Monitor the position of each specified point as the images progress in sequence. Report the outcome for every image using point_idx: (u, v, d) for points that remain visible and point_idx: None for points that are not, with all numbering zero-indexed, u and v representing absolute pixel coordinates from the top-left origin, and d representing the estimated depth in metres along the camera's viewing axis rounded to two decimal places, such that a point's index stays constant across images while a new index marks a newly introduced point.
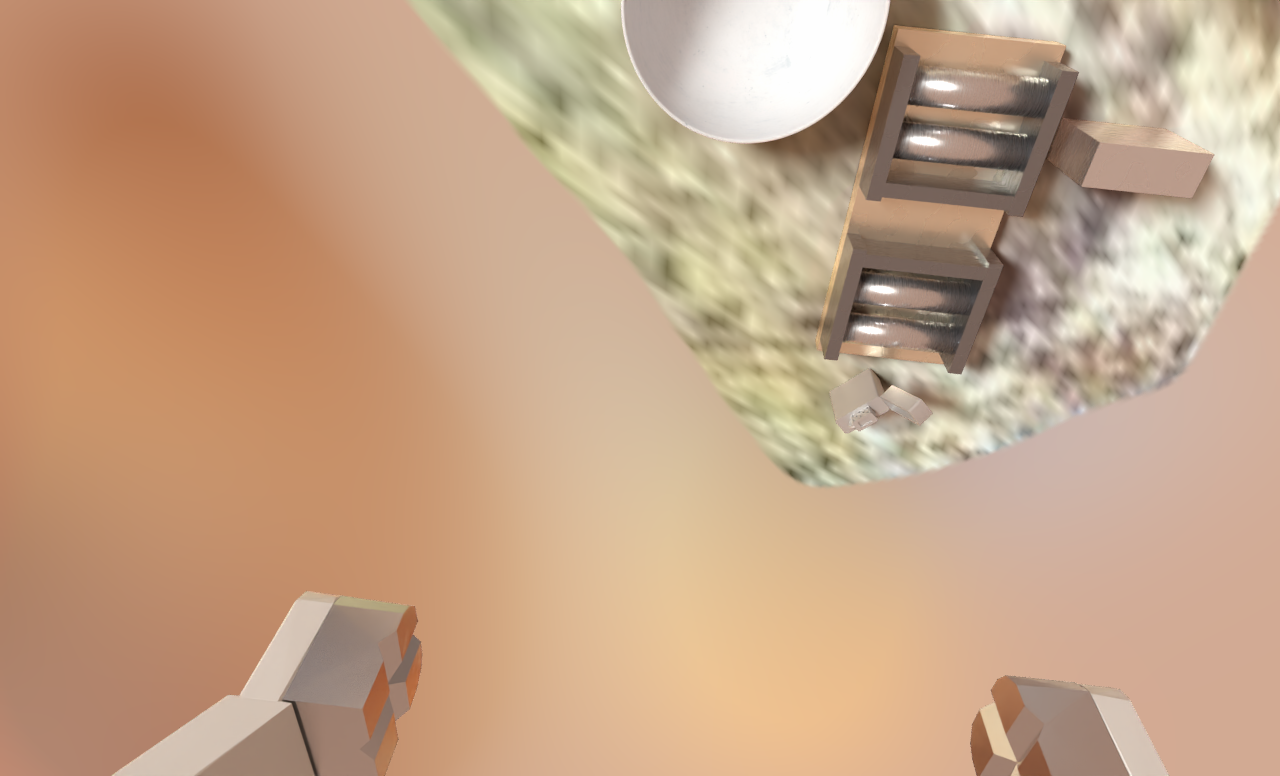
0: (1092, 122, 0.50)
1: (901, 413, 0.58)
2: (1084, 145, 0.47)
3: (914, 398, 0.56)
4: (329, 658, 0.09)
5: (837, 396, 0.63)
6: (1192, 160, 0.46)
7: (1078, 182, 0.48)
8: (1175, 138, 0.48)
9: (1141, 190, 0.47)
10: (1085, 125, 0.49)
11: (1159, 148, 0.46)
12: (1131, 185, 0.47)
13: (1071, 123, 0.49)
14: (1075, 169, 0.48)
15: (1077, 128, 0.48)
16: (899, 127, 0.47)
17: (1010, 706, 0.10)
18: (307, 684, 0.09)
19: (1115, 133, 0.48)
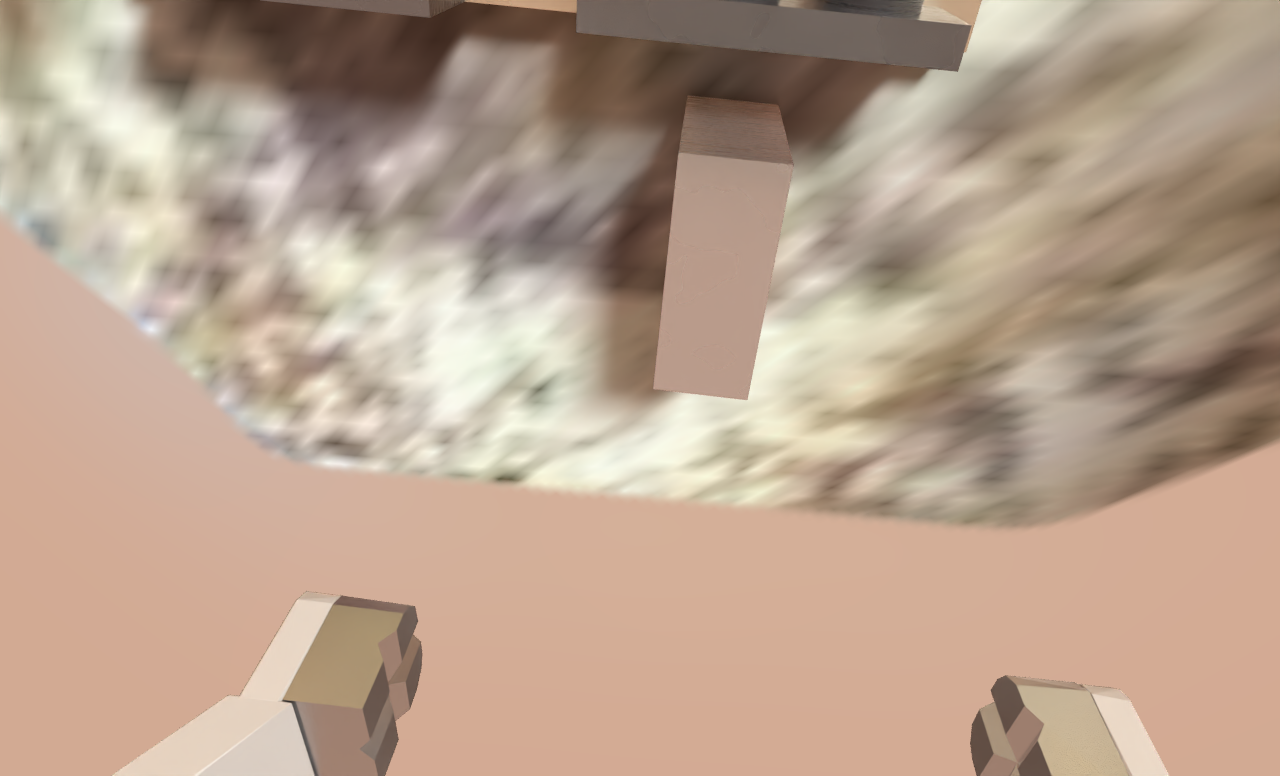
0: None
1: None
2: (763, 142, 0.19)
3: None
4: (329, 658, 0.09)
5: None
6: (736, 367, 0.21)
7: (683, 147, 0.18)
8: None
9: (669, 291, 0.20)
10: None
11: (765, 299, 0.20)
12: (681, 267, 0.20)
13: None
14: (705, 137, 0.19)
15: (782, 127, 0.21)
16: None
17: (1010, 706, 0.10)
18: (307, 684, 0.09)
19: None
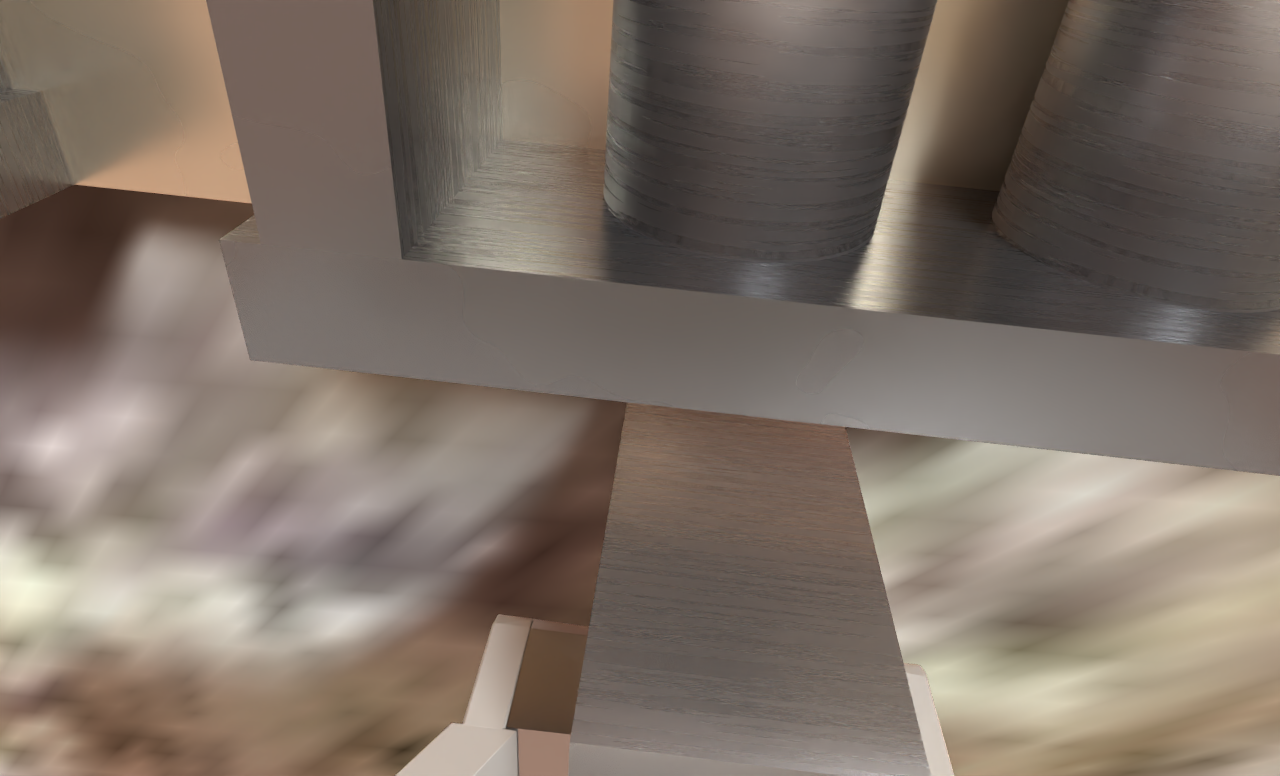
0: None
1: None
2: (821, 604, 0.07)
3: None
4: (541, 684, 0.09)
5: None
6: None
7: (591, 683, 0.06)
8: None
9: None
10: None
11: None
12: None
13: None
14: (663, 594, 0.07)
15: (856, 488, 0.08)
16: None
17: None
18: (526, 711, 0.09)
19: None
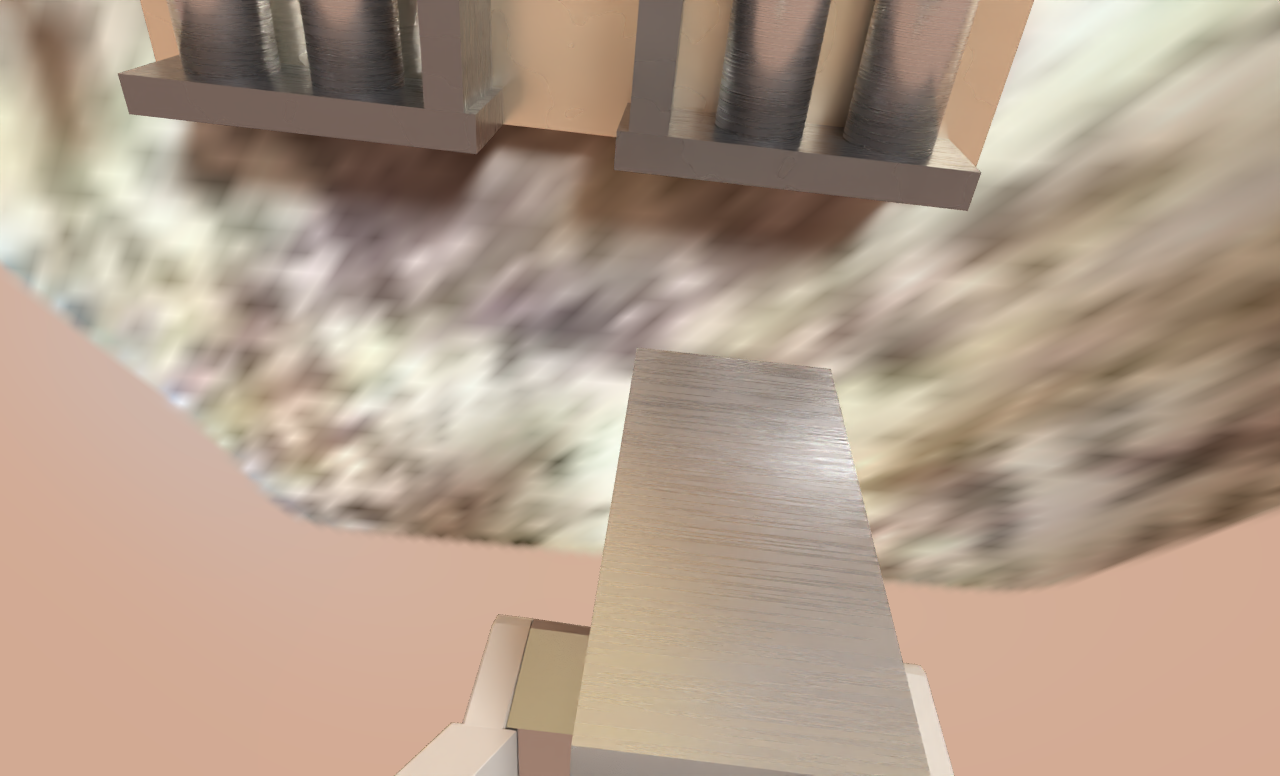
0: None
1: None
2: (822, 607, 0.07)
3: None
4: (541, 684, 0.09)
5: None
6: None
7: (592, 686, 0.06)
8: None
9: None
10: None
11: None
12: None
13: (842, 433, 0.09)
14: (664, 598, 0.07)
15: (856, 491, 0.08)
16: None
17: None
18: (526, 711, 0.09)
19: None
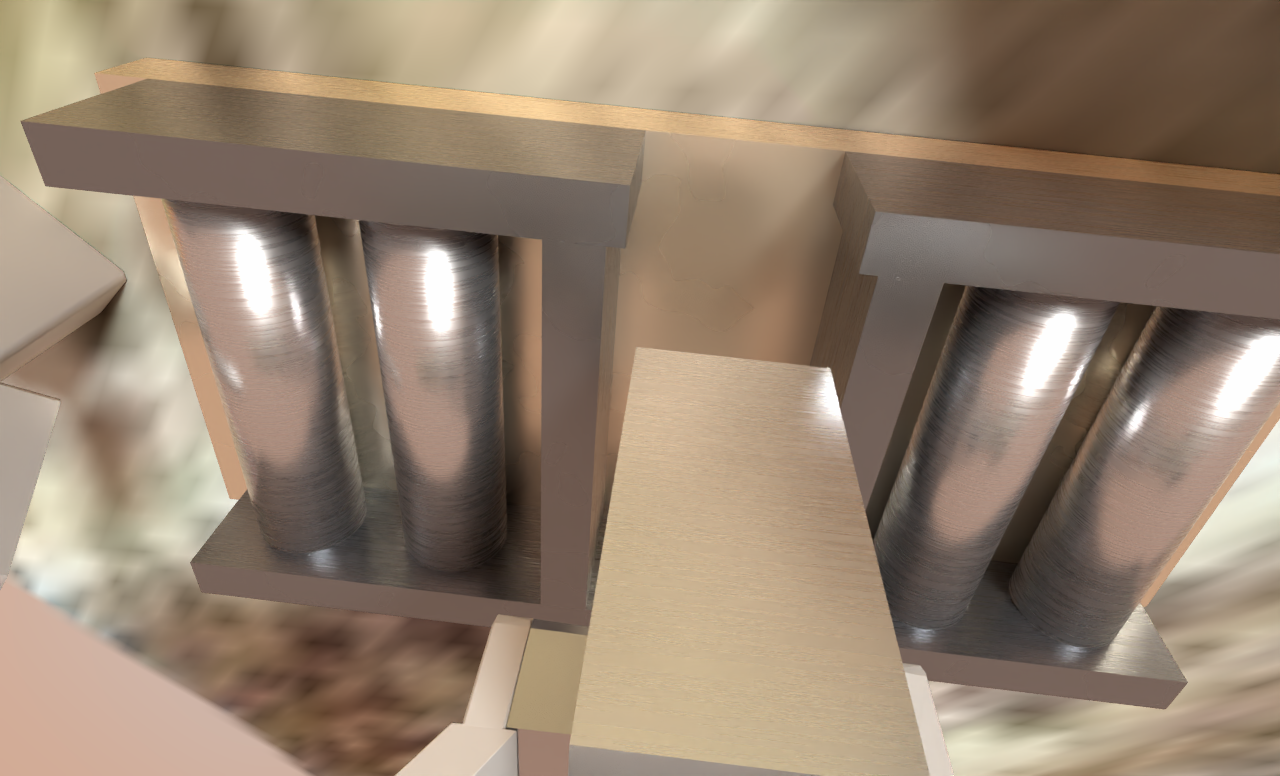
0: None
1: None
2: (821, 606, 0.07)
3: (1, 546, 0.13)
4: (541, 684, 0.09)
5: None
6: None
7: (590, 685, 0.06)
8: None
9: None
10: None
11: None
12: None
13: None
14: (662, 596, 0.07)
15: (856, 490, 0.08)
16: (1187, 303, 0.11)
17: None
18: (526, 711, 0.09)
19: None
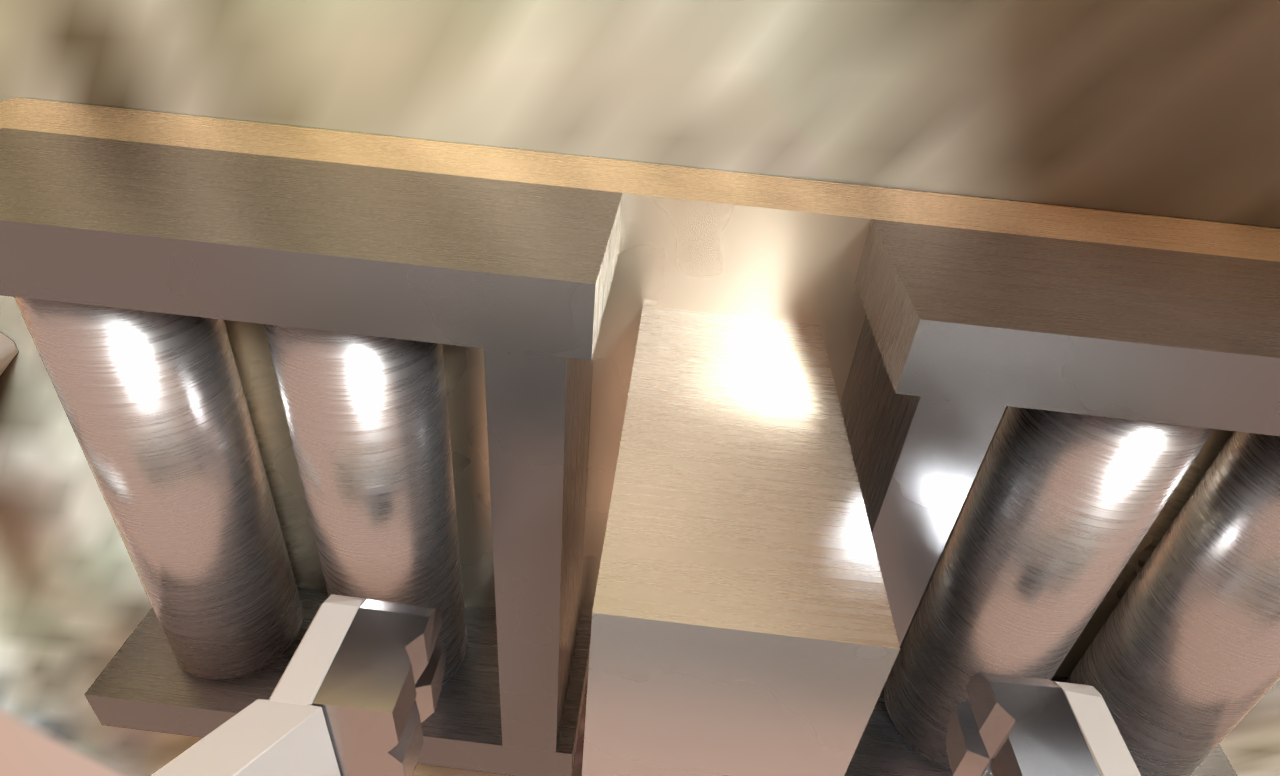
0: None
1: None
2: (808, 513, 0.08)
3: None
4: (357, 661, 0.09)
5: None
6: None
7: (609, 570, 0.07)
8: None
9: None
10: None
11: None
12: None
13: None
14: (669, 504, 0.08)
15: (840, 424, 0.09)
16: None
17: (983, 703, 0.10)
18: (336, 687, 0.09)
19: None
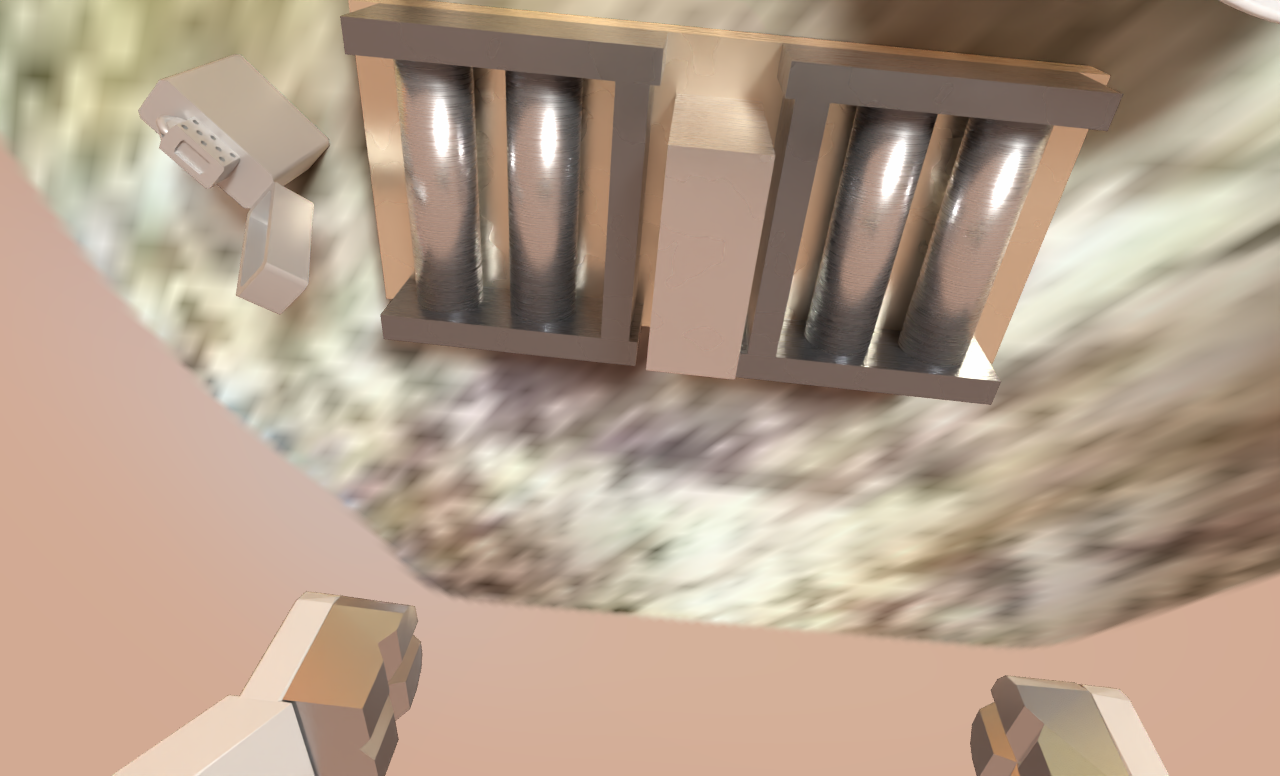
0: None
1: (249, 241, 0.24)
2: (747, 135, 0.21)
3: (303, 268, 0.23)
4: (329, 658, 0.09)
5: (233, 74, 0.25)
6: (724, 348, 0.22)
7: (672, 139, 0.20)
8: None
9: (660, 276, 0.21)
10: None
11: None
12: (671, 253, 0.21)
13: None
14: (693, 131, 0.20)
15: (765, 122, 0.22)
16: (958, 112, 0.21)
17: (1010, 706, 0.10)
18: (307, 684, 0.09)
19: None
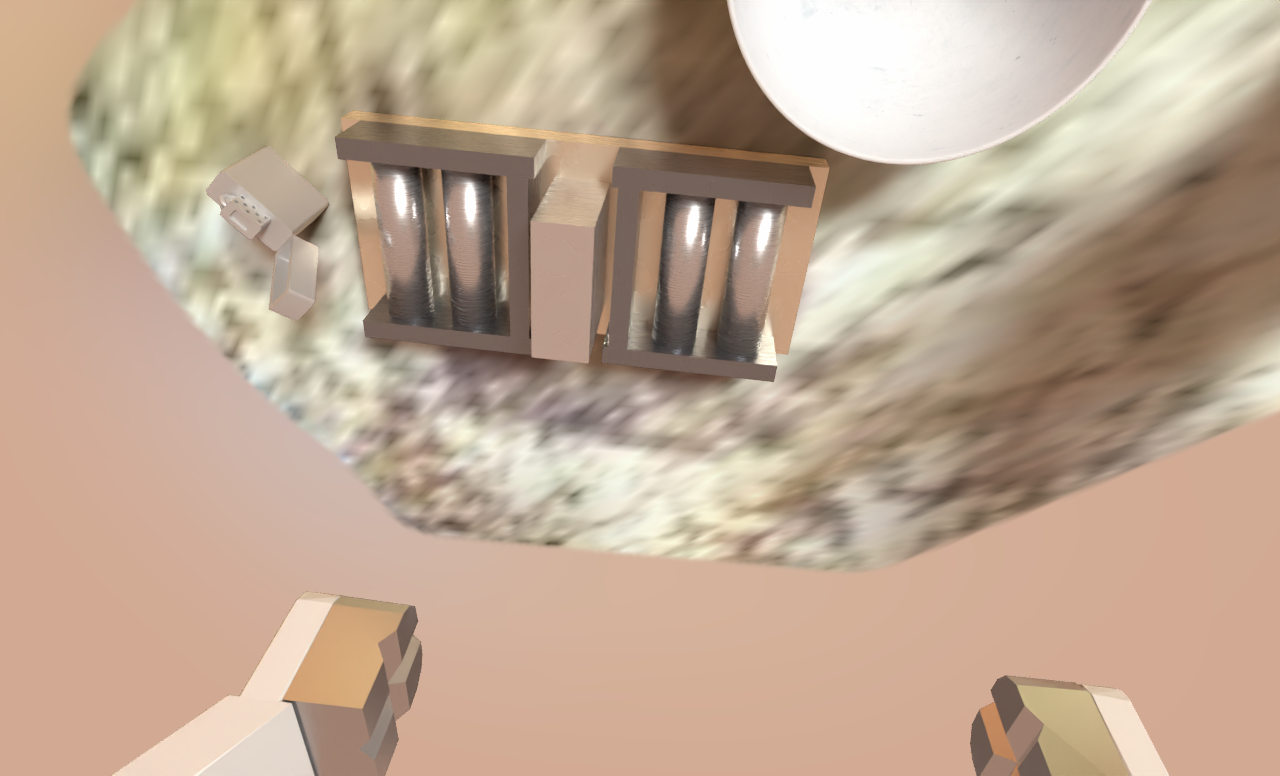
0: (607, 220, 0.38)
1: (277, 273, 0.37)
2: (585, 212, 0.33)
3: (311, 291, 0.36)
4: (329, 658, 0.09)
5: (265, 161, 0.38)
6: (579, 343, 0.35)
7: (535, 216, 0.32)
8: (597, 318, 0.38)
9: (534, 298, 0.34)
10: (605, 211, 0.36)
11: (591, 302, 0.34)
12: (539, 284, 0.34)
13: (606, 193, 0.36)
14: (551, 209, 0.33)
15: (603, 200, 0.35)
16: (718, 196, 0.34)
17: (1010, 706, 0.10)
18: (307, 684, 0.09)
19: (600, 248, 0.36)
